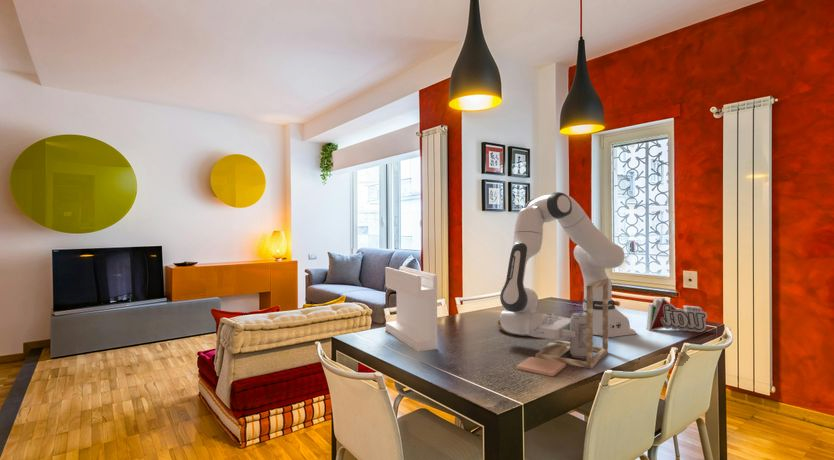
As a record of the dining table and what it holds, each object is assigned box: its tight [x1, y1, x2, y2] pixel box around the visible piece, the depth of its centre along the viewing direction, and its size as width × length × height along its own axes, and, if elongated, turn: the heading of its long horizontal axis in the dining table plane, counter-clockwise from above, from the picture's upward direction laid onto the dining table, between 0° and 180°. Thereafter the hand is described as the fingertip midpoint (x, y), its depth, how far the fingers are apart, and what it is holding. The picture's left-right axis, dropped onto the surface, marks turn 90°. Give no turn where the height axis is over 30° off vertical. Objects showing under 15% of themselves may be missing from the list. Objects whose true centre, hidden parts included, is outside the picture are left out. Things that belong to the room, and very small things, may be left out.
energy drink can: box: [569, 312, 587, 359], centre depth 155 cm, size 6×6×15 cm
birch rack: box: [535, 278, 609, 369], centre depth 156 cm, size 19×22×27 cm
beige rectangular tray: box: [538, 342, 570, 357], centre depth 160 cm, size 7×15×2 cm, turn 143°
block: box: [384, 265, 438, 352], centre depth 179 cm, size 35×8×28 cm, turn 24°
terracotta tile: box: [515, 356, 567, 377], centre depth 143 cm, size 12×12×1 cm
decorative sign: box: [646, 296, 708, 333], centre depth 191 cm, size 23×3×15 cm, turn 84°
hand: (579, 331), depth 155 cm, fingers open, 8 cm apart
